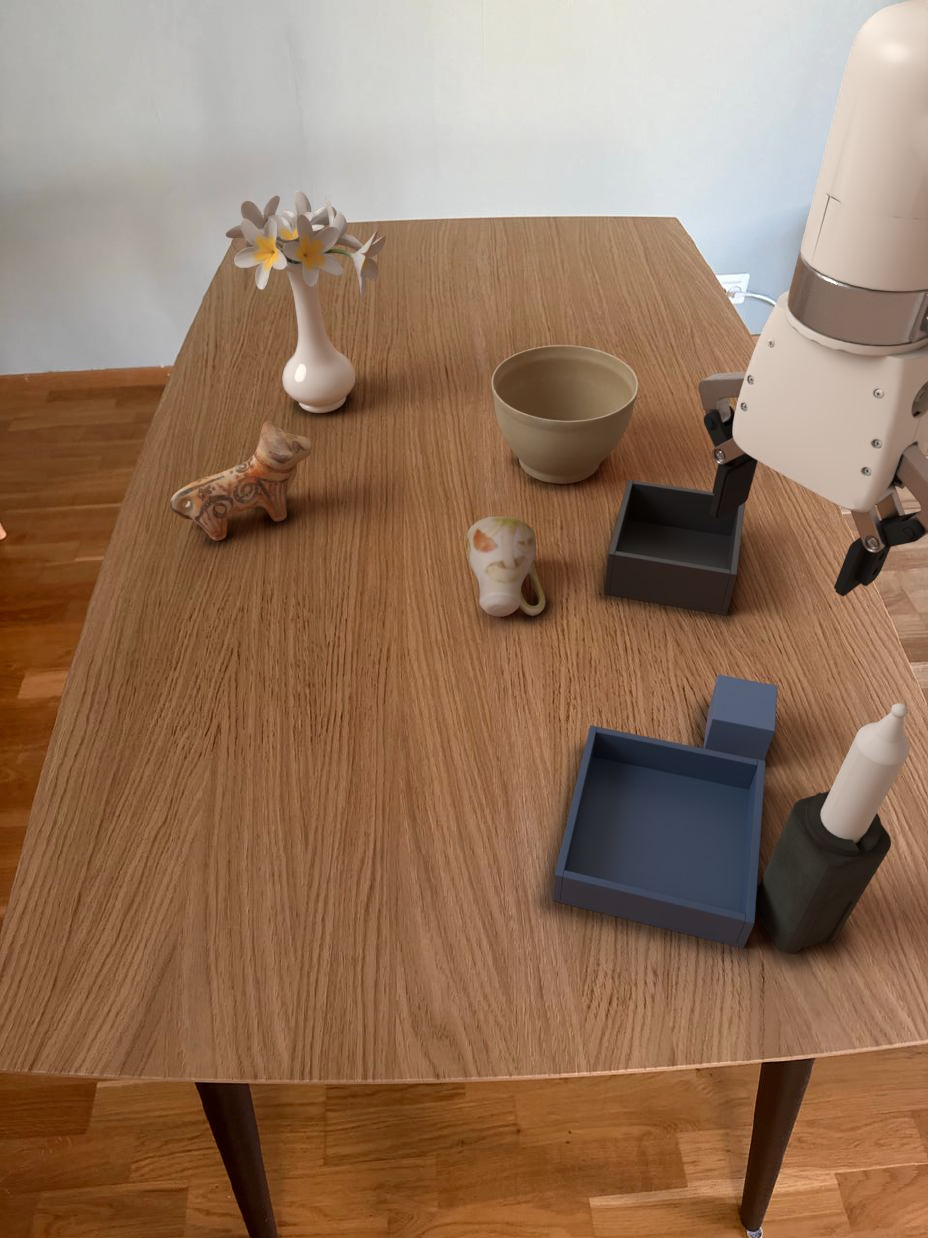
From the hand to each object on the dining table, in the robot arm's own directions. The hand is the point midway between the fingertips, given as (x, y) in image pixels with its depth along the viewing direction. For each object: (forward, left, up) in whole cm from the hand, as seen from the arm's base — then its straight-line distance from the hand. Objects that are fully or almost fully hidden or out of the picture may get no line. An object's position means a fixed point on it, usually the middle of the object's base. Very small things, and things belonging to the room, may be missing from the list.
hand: (787, 544), depth 59 cm
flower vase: (+54, -46, -26) cm, 75 cm away
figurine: (+53, -21, -26) cm, 62 cm away
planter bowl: (+22, -40, -26) cm, 52 cm away
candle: (-7, +12, -26) cm, 29 cm away
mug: (+23, -17, -26) cm, 38 cm away
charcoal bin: (+7, -25, -25) cm, 36 cm away
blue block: (-1, -4, -25) cm, 26 cm away
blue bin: (+4, +8, -25) cm, 27 cm away
